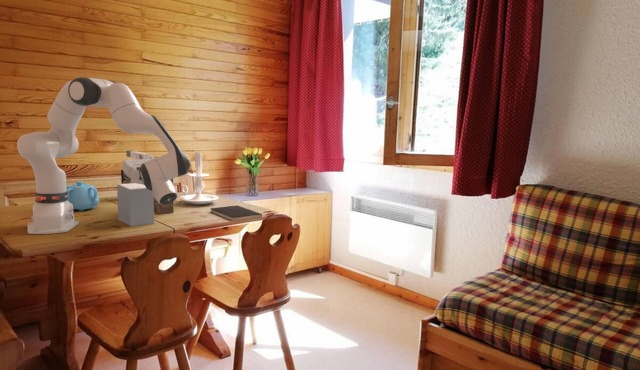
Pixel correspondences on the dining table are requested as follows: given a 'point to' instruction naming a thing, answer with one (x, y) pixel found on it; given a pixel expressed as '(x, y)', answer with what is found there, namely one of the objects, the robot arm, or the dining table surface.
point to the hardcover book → (235, 213)
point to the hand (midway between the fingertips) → (142, 155)
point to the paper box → (135, 204)
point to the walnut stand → (163, 206)
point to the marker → (133, 153)
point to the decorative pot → (82, 196)
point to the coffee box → (125, 178)
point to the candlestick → (197, 185)
